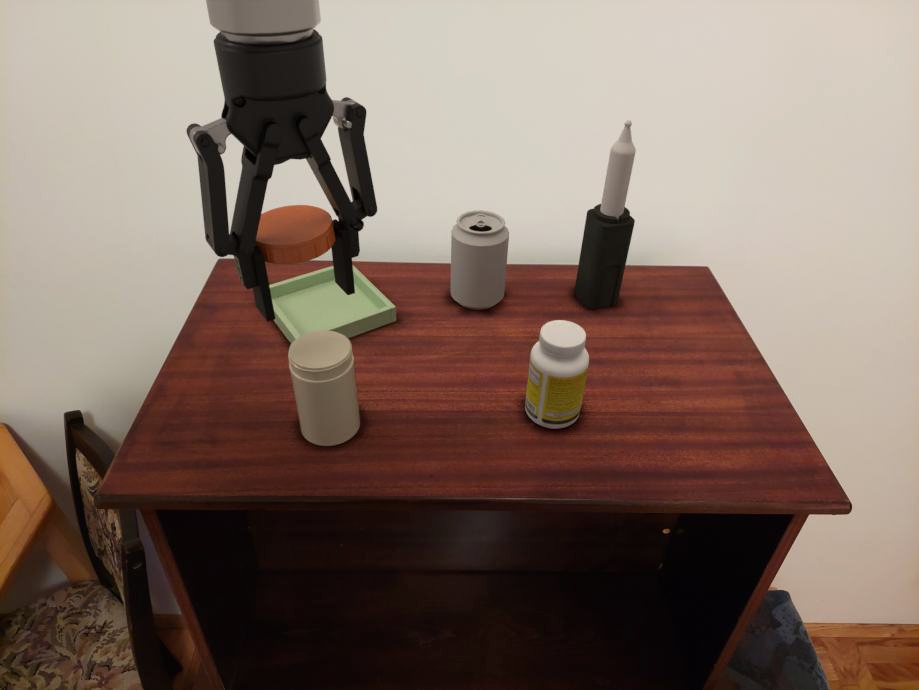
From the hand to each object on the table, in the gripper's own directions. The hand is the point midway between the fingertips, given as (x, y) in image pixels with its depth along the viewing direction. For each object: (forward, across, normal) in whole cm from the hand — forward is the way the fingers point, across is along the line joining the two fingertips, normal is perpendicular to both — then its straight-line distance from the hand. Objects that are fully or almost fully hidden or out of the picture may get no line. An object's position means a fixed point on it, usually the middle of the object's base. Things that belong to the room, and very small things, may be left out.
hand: (306, 299), depth 60 cm
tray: (+16, -9, -19) cm, 27 cm away
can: (+17, -28, -11) cm, 35 cm away
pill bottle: (+17, -22, +12) cm, 30 cm away
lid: (-7, 0, -1) cm, 7 cm away
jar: (+17, -1, 0) cm, 17 cm away
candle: (+16, -42, -2) cm, 45 cm away
